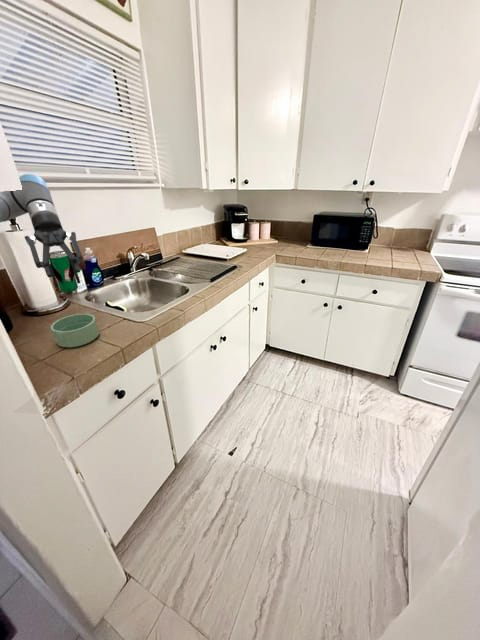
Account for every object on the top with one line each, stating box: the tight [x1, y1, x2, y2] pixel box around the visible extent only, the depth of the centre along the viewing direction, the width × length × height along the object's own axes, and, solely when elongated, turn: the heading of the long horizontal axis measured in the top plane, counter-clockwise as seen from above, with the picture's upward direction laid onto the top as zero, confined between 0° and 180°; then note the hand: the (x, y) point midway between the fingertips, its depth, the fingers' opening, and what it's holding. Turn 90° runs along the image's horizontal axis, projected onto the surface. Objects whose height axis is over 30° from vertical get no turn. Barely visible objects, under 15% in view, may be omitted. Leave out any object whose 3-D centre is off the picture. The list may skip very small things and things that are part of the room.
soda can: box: [49, 250, 79, 293], centre depth 80 cm, size 5×5×12 cm
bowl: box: [50, 313, 100, 348], centre depth 84 cm, size 12×12×6 cm
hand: (67, 283), depth 79 cm, fingers closed on soda can, 5 cm apart
